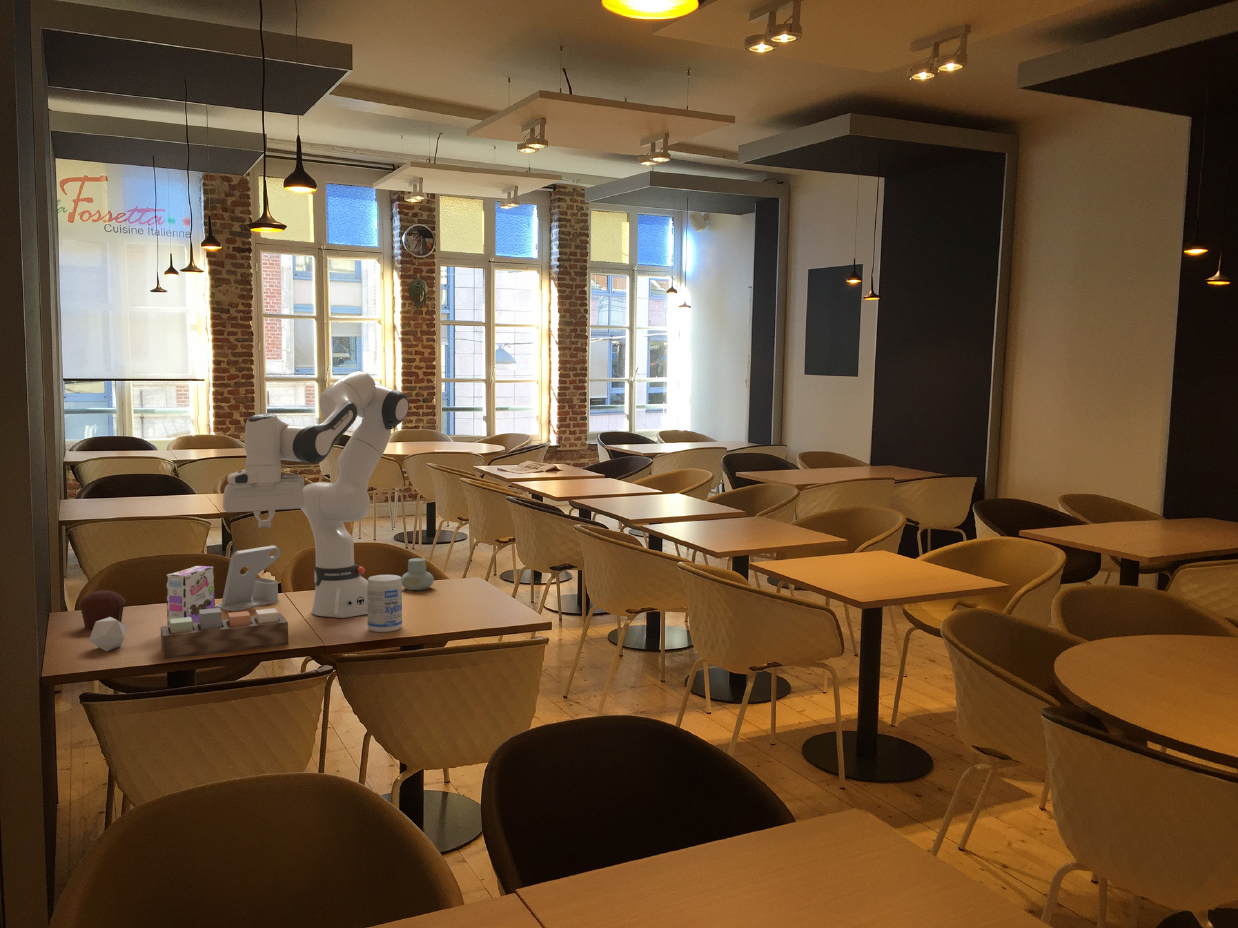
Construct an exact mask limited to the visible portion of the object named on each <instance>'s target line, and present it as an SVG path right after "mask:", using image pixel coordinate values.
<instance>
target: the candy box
mask: <svg viewBox="0 0 1238 928" xmlns="http://www.w3.org/2000/svg"><path fill="white" fill-rule="evenodd" d="M214 568H215V567H214V566H207V565H206V566H205V565H195V566H192V567H190V568H186V569H183V570H180V571H176V572H172V573H168V574H166V576H165V577H166V578H165V579H166V609H167V610H166V613H167V614H166V615H167V616H166V618H167V619H166V620H167V622H166V623H167V626H170V619H175V618H185V617H191V619H192V622H193V623H199V610H202V609H211V608H216V607H215V605H216V602H215V601H216V600H215V597H216V596H215V576H214V575H215V573H214V572H215V570H214Z"/></svg>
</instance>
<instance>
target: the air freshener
mask: <svg viewBox="0 0 1238 928" xmlns="http://www.w3.org/2000/svg"><path fill="white" fill-rule="evenodd" d="M407 561H408V562H407V572H405V573H403V575H402V576H400V577H401V581H402V588H404V589H407V590H409V591H411V590H420V591H425V590H426V589H429V588H430V587H431V586H433V584H434V581H435V577H434V576H433V574H431V573H430V571H427V559H425V558H422V557H421V558H420V557H417V558H415V557H414V558H409V559H408V560H407Z"/></svg>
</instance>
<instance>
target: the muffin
mask: <svg viewBox="0 0 1238 928" xmlns="http://www.w3.org/2000/svg"><path fill="white" fill-rule="evenodd" d="M126 602H127V600H125V598H124V597H123V596H122V595H121V594H120V593H117V592H115V591H113V590H108V589H107V590H95V591H94V592H91V593H89V594H87V595H86V596H84V597H83V598H82V599H81V602H80V603H79V605H78V608H80V610H81V615H82V620H83V624H84V628H85V629H86V630H88V631H92V630H93V627H94V625H95V622H96V621H99V620H102V619H105V618H108V617H112V618H114V619H116V620H118V621H119V622H121V623H122V620H123V612H124V605H125V604H126Z"/></svg>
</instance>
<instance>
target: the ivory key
mask: <svg viewBox="0 0 1238 928" xmlns="http://www.w3.org/2000/svg"><path fill="white" fill-rule="evenodd" d="M278 614H279V611H278V610H277V608H275V607H273V608H264V609H263V608H262V609H256V610H255V616H256V623H257V624H258V623H267V622H276V621H278Z"/></svg>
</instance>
